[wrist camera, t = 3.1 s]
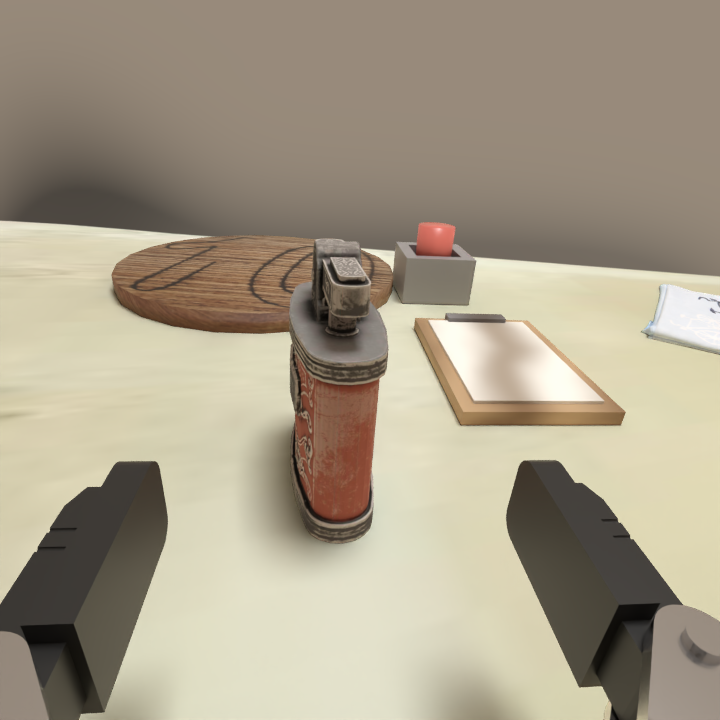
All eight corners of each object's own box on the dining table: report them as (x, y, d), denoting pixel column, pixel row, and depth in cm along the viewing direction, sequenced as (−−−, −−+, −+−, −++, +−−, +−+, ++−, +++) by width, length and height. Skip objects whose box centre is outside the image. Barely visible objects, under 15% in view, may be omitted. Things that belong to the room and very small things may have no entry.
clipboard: (460, 424, 25) (464, 403, 24) (414, 327, 36) (415, 312, 35) (621, 424, 25) (628, 404, 25) (525, 330, 37) (529, 314, 36)
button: (417, 276, 41) (423, 228, 40) (410, 266, 44) (415, 221, 42) (452, 278, 42) (459, 230, 40) (443, 268, 45) (450, 223, 43)
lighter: (287, 421, 24) (284, 221, 19) (352, 417, 25) (363, 223, 20) (296, 548, 17) (295, 280, 12) (387, 538, 18) (418, 280, 13)
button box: (402, 303, 41) (407, 258, 39) (392, 282, 46) (395, 241, 44) (468, 305, 42) (476, 260, 40) (451, 284, 47) (457, 244, 45)
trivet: (46, 322, 34) (40, 297, 33) (186, 244, 56) (184, 228, 55) (389, 351, 33) (391, 326, 32) (393, 260, 55) (394, 244, 54)
